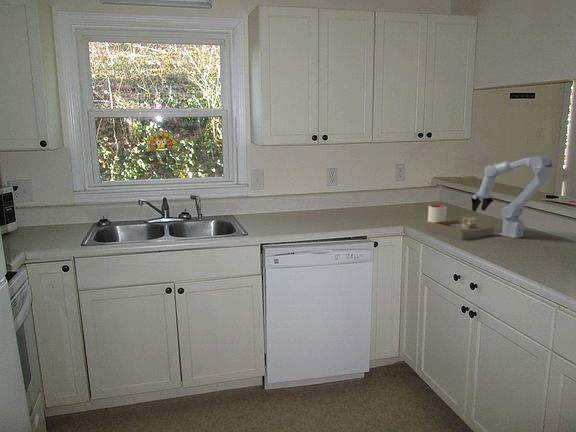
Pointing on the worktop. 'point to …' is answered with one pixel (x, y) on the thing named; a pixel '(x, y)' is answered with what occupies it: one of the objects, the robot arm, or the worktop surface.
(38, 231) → the worktop surface
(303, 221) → the worktop surface
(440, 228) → the trap board
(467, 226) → the block
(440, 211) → the cup
